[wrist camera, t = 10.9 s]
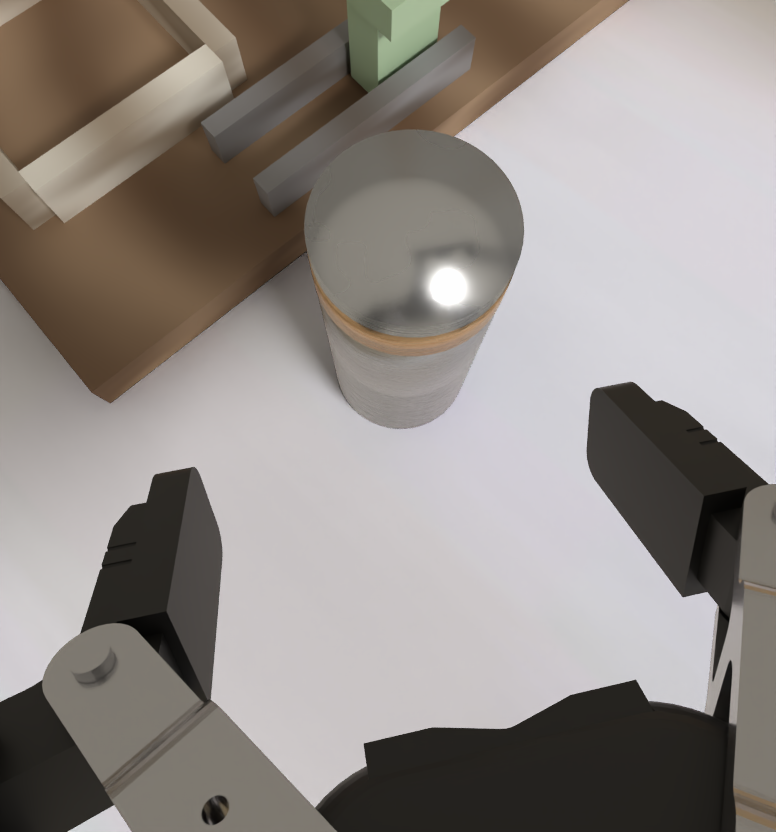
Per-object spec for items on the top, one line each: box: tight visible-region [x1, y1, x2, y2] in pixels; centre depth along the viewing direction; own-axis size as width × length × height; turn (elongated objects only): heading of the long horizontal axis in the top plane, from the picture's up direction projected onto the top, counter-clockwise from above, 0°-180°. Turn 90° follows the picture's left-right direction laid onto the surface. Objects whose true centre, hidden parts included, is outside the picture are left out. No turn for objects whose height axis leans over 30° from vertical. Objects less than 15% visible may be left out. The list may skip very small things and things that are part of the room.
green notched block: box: [347, 0, 449, 93], centre depth 22 cm, size 3×3×5 cm
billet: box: [304, 129, 524, 429], centre depth 18 cm, size 5×5×10 cm
